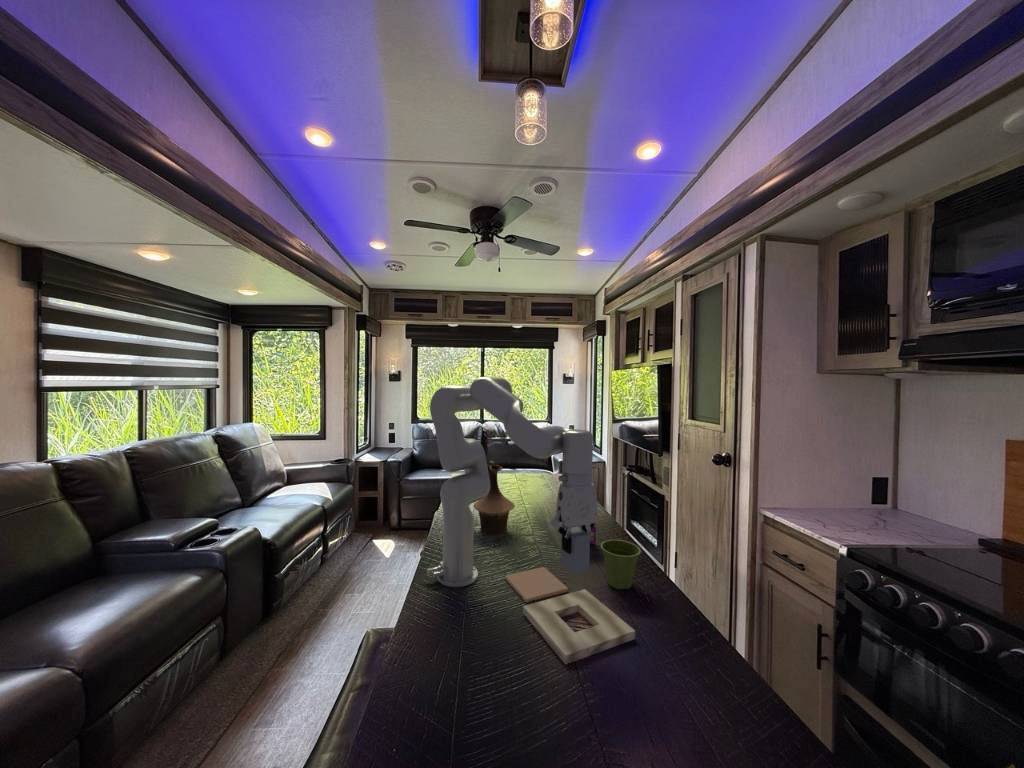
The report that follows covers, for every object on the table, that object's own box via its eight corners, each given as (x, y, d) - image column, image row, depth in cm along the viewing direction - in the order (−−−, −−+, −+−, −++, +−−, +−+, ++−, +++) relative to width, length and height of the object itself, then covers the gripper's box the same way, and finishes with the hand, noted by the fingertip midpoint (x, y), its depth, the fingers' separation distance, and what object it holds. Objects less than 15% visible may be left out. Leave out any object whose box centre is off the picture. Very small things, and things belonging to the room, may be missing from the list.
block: (574, 573, 94) (575, 537, 94) (560, 562, 99) (561, 528, 99) (589, 569, 96) (590, 534, 95) (575, 559, 101) (576, 525, 101)
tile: (526, 602, 106) (526, 599, 106) (504, 578, 119) (504, 575, 119) (568, 591, 112) (568, 588, 112) (543, 569, 125) (543, 566, 125)
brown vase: (468, 524, 162) (469, 459, 162) (505, 520, 168) (506, 457, 168) (479, 541, 146) (480, 468, 146) (520, 535, 152) (521, 465, 152)
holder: (565, 664, 83) (565, 655, 83) (523, 613, 101) (523, 606, 101) (634, 638, 92) (635, 630, 92) (584, 596, 110) (584, 589, 110)
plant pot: (642, 597, 110) (643, 558, 110) (600, 591, 112) (601, 553, 112) (637, 576, 122) (638, 541, 121) (599, 572, 124) (600, 537, 124)
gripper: (556, 485, 90) (554, 562, 90) (612, 479, 97) (611, 550, 98) (540, 478, 97) (539, 549, 97) (594, 472, 104) (592, 538, 104)
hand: (575, 549), depth 97 cm, fingers closed on block, 4 cm apart
